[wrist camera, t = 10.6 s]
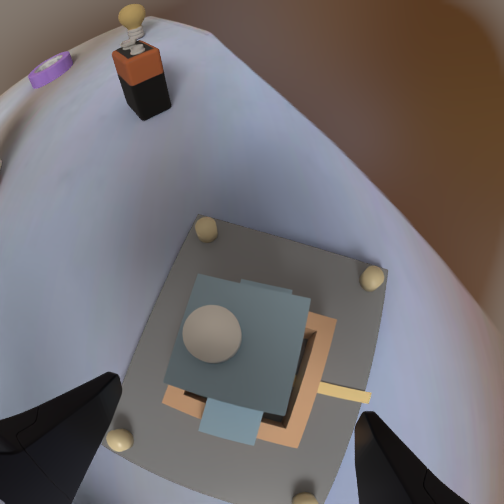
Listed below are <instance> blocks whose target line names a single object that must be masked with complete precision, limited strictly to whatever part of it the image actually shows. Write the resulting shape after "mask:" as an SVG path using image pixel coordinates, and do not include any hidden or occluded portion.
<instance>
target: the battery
mask: <svg viewBox="0 0 504 504" xmlns="http://www.w3.org/2000/svg"><path fill="white" fill-rule="evenodd" d="M120 46H121V47H122V48H119V49H117V50H115V51H113V53H112V57H113V60H114V64H115V67H116V70H117V73H118V77H119V80H120V83H121V86H122V89H123V92H124V95H125V98H126V101H127V104H128V105H129V106H130V107H131V108H132V110H133V111H134V112H135V113H136V114H137V115H138V116H139V118H140V119H141V120H147V119H149V118H150V117H152V116H155V115H157V114H159V113H161V112H163V111H165V110H167V109H169V108H170V107H171V102H170V98H169V94H168V89H167V85H166V80H165V75H164V71H163V66H162V61H161V56H160V51H159V49H158V48H156V47H154V46H152V45H149V44H147V43H145V42H143V41H141V40H139V41H137V40H136V38H135V39H129V40H126V41H124V42H122V43H121V45H120Z"/></svg>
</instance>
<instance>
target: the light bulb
mask: <svg viewBox="0 0 504 504" xmlns="http://www.w3.org/2000/svg"><path fill="white" fill-rule="evenodd" d="M118 18H119V22H120V23H121V24H122V25H123V26H124V27H126V28H127V29H128V30H127V32H128V36H129V39H135V38H136V39H139V38H141V37H142V36H143V35H144V32H143V29H142V28H143V26H142V25H141V24H142V22H143V20H144V18H145V9H144V7H143V6H142V5H139V4H130V5H128V6H126V7H124V8H123V9H122V10H121V11H120V12H119V16H118Z"/></svg>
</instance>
